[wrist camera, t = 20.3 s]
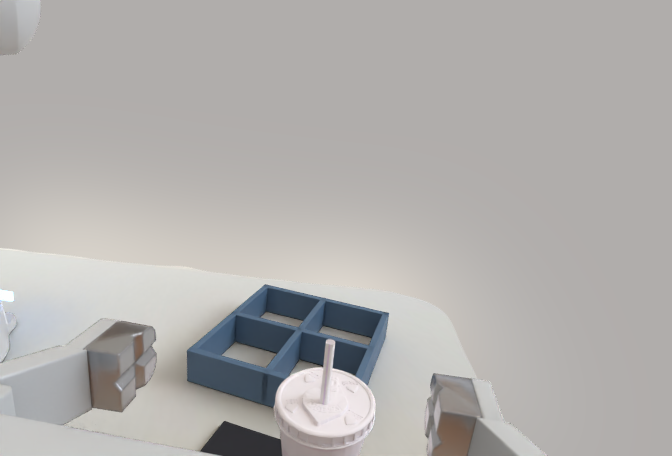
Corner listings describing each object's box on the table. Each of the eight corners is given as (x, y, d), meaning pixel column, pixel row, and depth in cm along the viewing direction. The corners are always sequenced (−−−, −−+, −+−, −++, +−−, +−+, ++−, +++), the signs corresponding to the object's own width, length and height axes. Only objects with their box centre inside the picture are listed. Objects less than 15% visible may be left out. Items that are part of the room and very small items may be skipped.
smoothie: (252, 546, 27) (262, 356, 23) (283, 465, 33) (295, 303, 29) (351, 573, 26) (381, 381, 22) (365, 484, 32) (389, 320, 28)
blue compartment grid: (187, 380, 42) (186, 350, 41) (263, 307, 57) (265, 284, 56) (349, 431, 38) (353, 398, 37) (385, 337, 53) (389, 312, 52)
